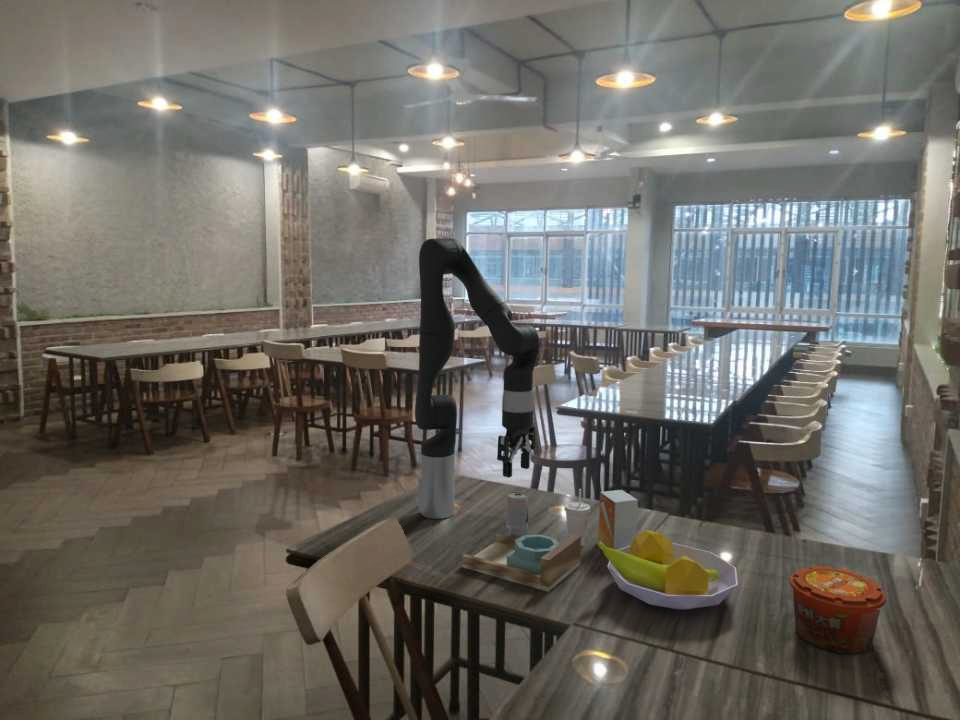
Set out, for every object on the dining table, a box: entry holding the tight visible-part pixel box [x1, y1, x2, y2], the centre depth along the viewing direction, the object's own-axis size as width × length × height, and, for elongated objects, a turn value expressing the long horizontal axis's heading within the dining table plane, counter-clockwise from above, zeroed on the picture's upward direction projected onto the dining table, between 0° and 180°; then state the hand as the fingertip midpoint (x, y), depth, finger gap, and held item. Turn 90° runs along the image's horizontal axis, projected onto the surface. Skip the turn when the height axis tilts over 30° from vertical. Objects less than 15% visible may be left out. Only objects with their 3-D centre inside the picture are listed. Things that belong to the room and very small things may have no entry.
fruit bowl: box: [596, 529, 739, 611], centre depth 147 cm, size 28×27×11 cm
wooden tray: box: [461, 533, 582, 593], centre depth 160 cm, size 22×16×7 cm
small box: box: [597, 489, 639, 550], centre depth 171 cm, size 8×6×13 cm
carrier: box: [507, 534, 560, 574], centre depth 158 cm, size 10×10×5 cm
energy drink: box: [505, 491, 529, 539], centre depth 174 cm, size 5×5×12 cm
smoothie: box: [563, 488, 591, 547], centre depth 173 cm, size 6×6×14 cm
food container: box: [788, 565, 887, 655], centre depth 130 cm, size 16×16×11 cm
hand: (516, 472), depth 172 cm, fingers open, 8 cm apart
